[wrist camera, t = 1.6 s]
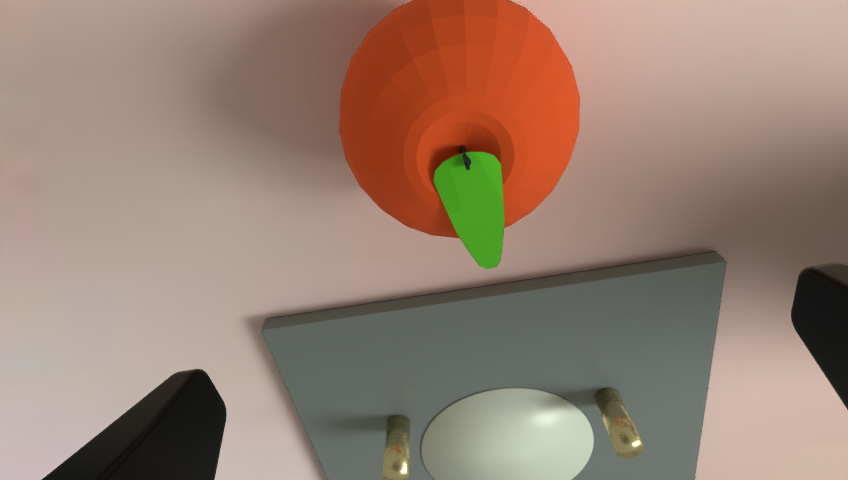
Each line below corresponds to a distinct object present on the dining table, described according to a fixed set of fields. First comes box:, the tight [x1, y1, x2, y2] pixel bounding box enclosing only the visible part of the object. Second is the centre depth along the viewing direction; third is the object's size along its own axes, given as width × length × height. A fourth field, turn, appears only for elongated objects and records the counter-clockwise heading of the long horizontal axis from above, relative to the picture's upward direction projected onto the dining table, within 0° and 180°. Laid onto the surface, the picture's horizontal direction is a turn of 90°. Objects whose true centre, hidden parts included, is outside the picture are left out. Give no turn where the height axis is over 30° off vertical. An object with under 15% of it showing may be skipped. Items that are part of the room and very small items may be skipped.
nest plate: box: [261, 252, 726, 480], centre depth 26 cm, size 20×20×1 cm
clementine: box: [340, 0, 580, 269], centre depth 15 cm, size 8×7×7 cm
